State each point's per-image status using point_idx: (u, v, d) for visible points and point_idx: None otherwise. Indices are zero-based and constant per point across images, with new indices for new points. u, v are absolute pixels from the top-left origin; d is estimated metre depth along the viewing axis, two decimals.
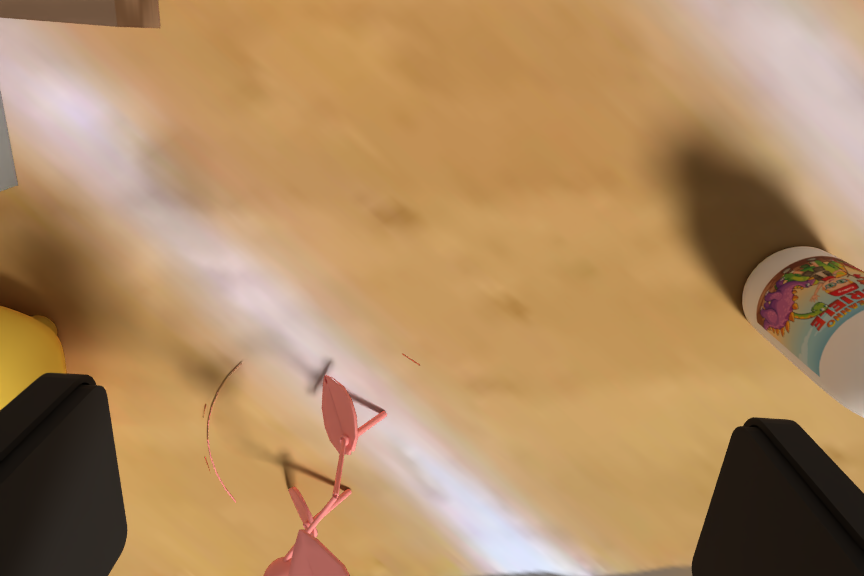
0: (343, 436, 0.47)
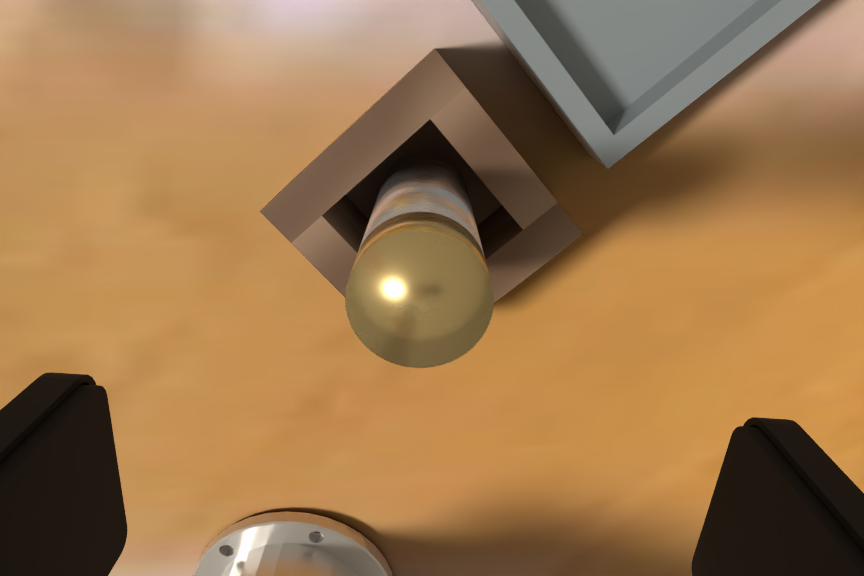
0: None
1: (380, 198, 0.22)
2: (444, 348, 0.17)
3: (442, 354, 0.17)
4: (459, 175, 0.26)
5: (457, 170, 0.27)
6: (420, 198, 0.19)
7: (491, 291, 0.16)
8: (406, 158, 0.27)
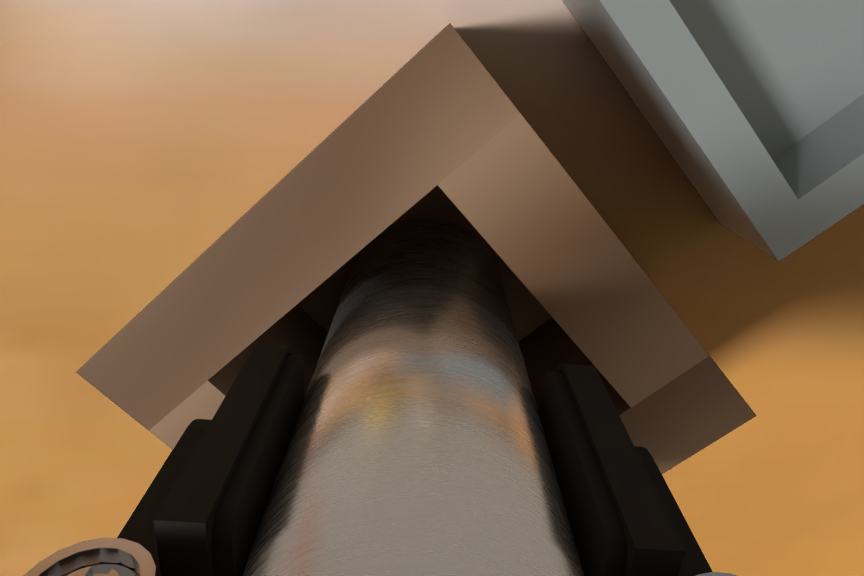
0: None
1: (322, 371, 0.10)
2: None
3: None
4: (492, 272, 0.14)
5: (486, 257, 0.14)
6: (410, 458, 0.06)
7: None
8: (391, 235, 0.14)
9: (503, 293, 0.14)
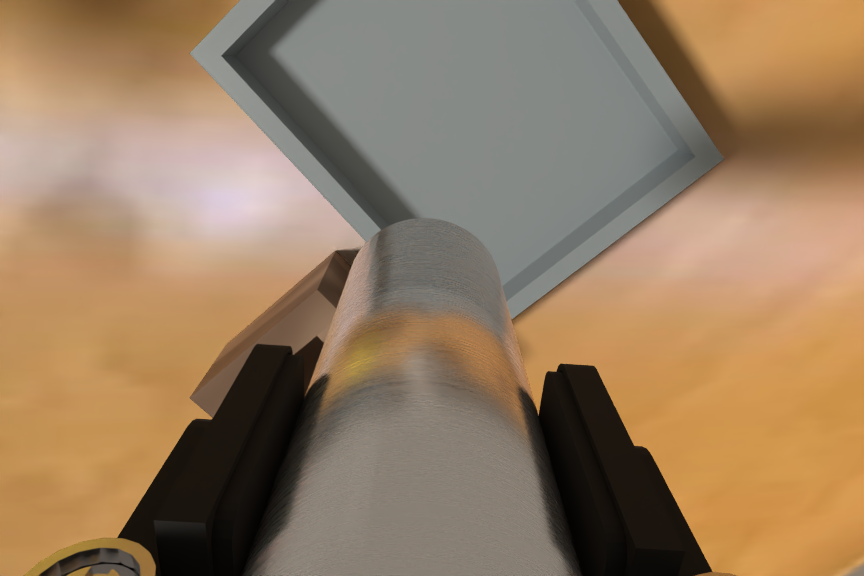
0: None
1: (321, 373, 0.09)
2: None
3: None
4: (491, 273, 0.14)
5: (486, 258, 0.14)
6: (409, 461, 0.06)
7: None
8: (390, 236, 0.14)
9: (502, 294, 0.13)
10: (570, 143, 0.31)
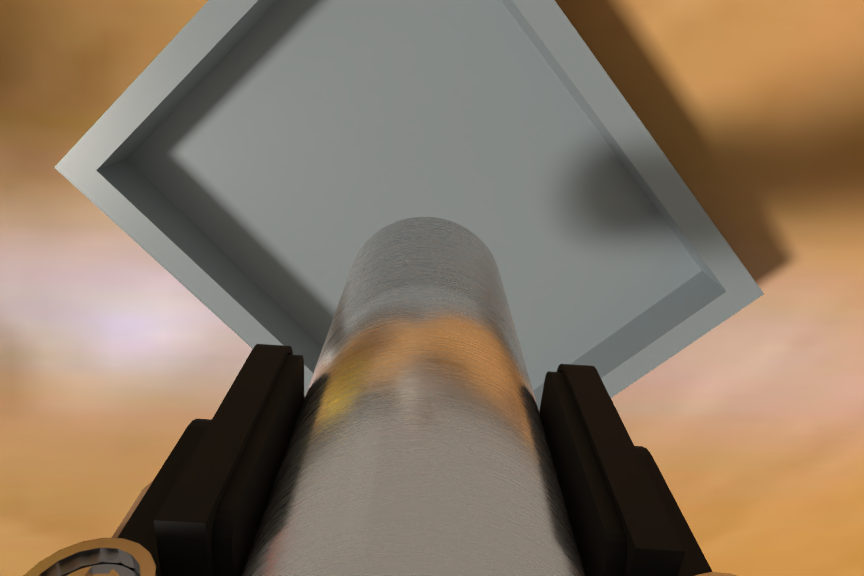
0: None
1: (322, 371, 0.09)
2: None
3: None
4: (492, 272, 0.14)
5: (487, 257, 0.14)
6: (410, 460, 0.06)
7: None
8: (391, 235, 0.14)
9: (504, 293, 0.13)
10: (563, 263, 0.24)
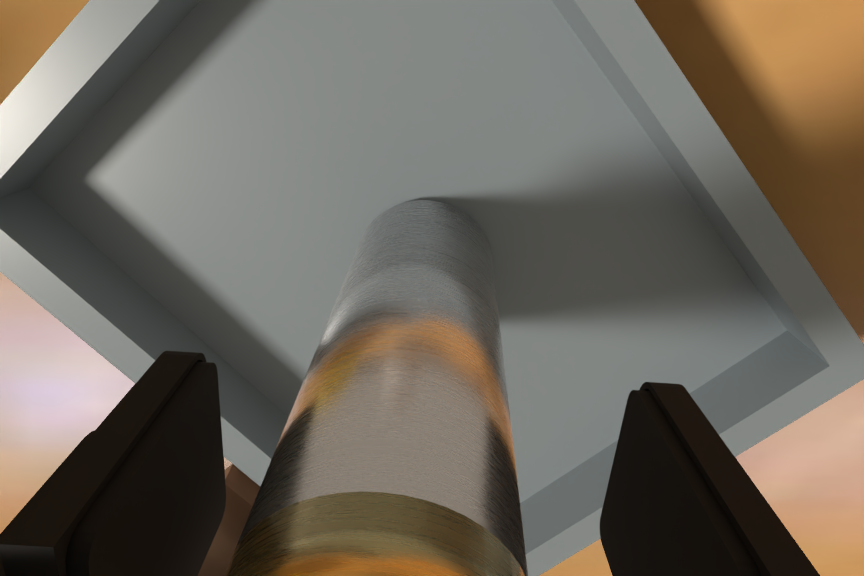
0: None
1: (325, 338, 0.12)
2: None
3: None
4: (480, 252, 0.15)
5: (477, 238, 0.16)
6: (384, 408, 0.09)
7: None
8: (393, 217, 0.16)
9: (489, 271, 0.15)
10: (606, 320, 0.19)
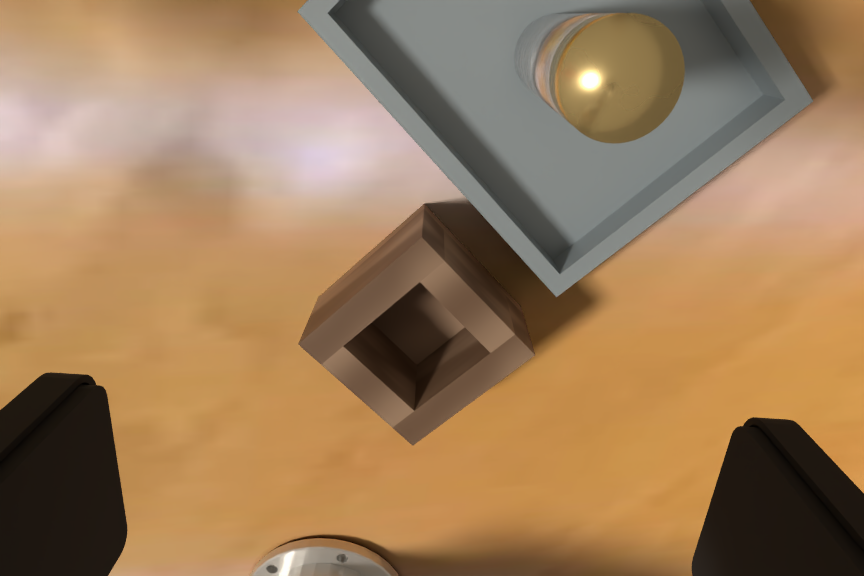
0: None
1: (544, 33, 0.25)
2: (638, 124, 0.20)
3: (636, 130, 0.20)
4: None
5: None
6: (599, 13, 0.22)
7: (683, 68, 0.19)
8: (543, 17, 0.30)
9: None
10: None
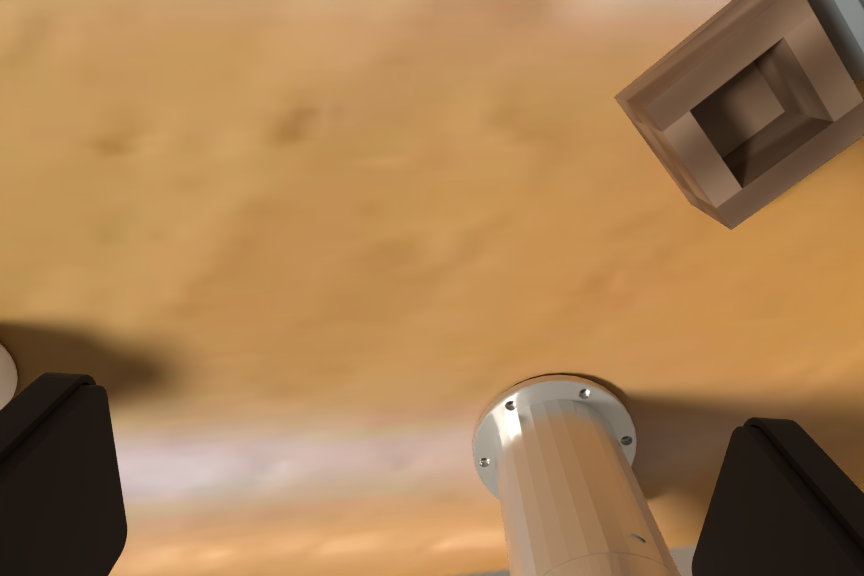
0: None
1: None
2: None
3: None
4: None
5: None
6: None
7: None
8: None
9: None
10: None
